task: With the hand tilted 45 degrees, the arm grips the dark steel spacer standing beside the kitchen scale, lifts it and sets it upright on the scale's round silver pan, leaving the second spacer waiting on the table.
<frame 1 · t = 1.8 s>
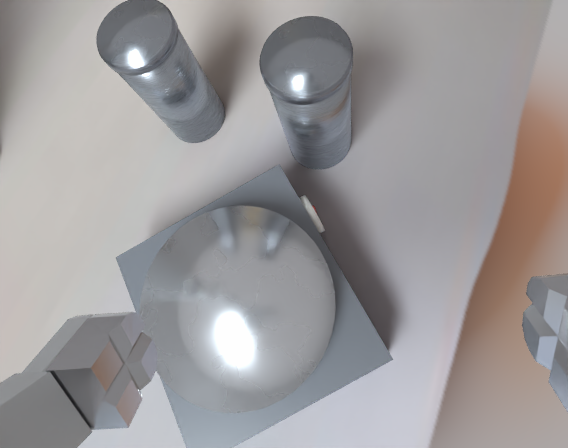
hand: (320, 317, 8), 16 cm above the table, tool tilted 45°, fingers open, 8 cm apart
pan: (235, 302, 21), point 4 cm above the table, slide at 0.0 cm, touching scale
spacer a: (320, 140, 26), on the table
spacer b: (197, 117, 29), on the table
scale: (253, 305, 24), on the table
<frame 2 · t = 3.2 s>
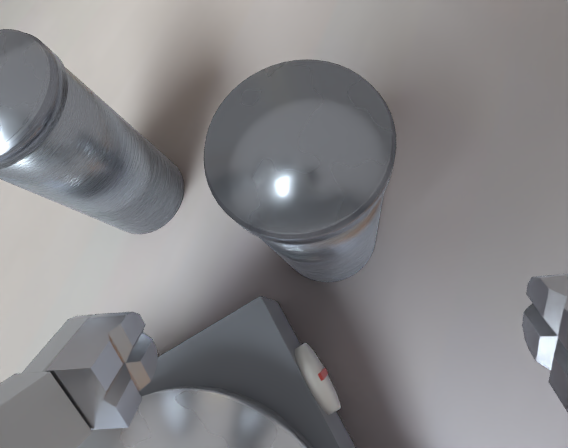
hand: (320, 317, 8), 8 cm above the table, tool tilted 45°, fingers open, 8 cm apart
spacer a: (326, 234, 17), on the table
spacer b: (145, 193, 20), on the table
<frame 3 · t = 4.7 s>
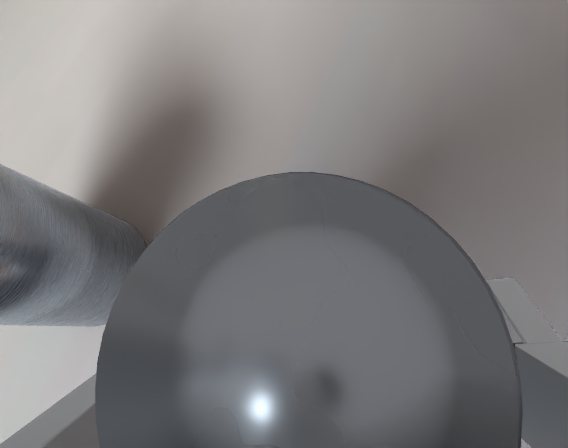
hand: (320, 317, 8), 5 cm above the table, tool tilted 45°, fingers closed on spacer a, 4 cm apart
spacer a: (338, 342, 12), on the table, touching gripper
spacer b: (99, 270, 15), on the table
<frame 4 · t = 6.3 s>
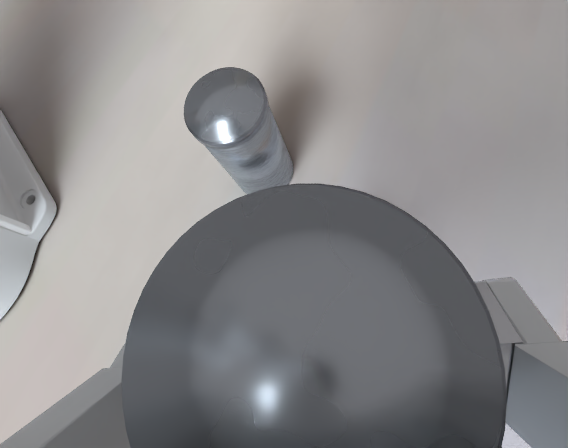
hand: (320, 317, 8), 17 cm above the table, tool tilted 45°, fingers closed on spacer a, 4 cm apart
spacer a: (339, 340, 13), point 12 cm above the table, touching gripper
spacer b: (264, 171, 28), on the table
when the fingers open (10 cm above the table, at t = 8.0 s): spacer a stays where it is, resting on pan.
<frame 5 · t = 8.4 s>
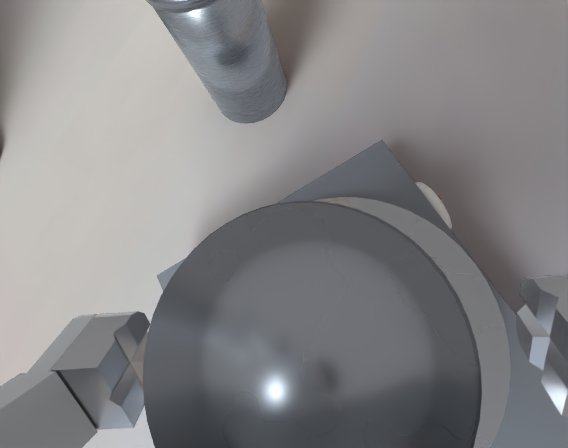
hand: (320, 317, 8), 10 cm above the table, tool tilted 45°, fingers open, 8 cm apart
pan: (341, 340, 14), point 4 cm above the table, slide at 0.0 cm, touching scale, spacer a
spacer a: (338, 341, 13), point 4 cm above the table, touching pan
spacer b: (251, 91, 22), on the table
scale: (346, 338, 17), on the table
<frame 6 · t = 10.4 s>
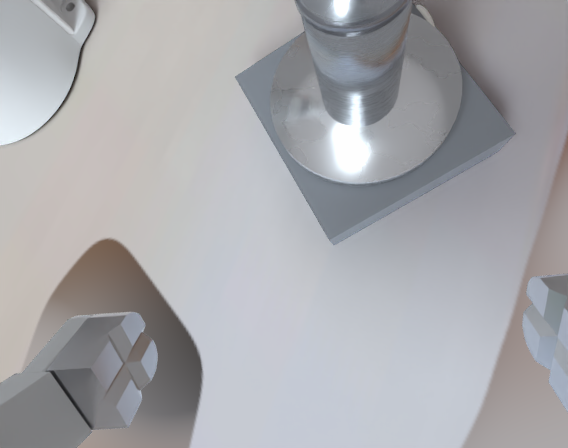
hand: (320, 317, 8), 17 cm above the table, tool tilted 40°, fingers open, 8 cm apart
pan: (361, 95, 22), point 4 cm above the table, slide at 0.0 cm, touching scale, spacer a
spacer a: (359, 91, 22), point 4 cm above the table, touching pan
scale: (362, 122, 26), on the table
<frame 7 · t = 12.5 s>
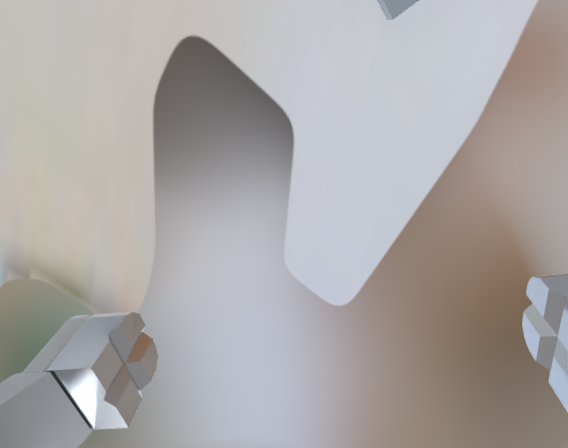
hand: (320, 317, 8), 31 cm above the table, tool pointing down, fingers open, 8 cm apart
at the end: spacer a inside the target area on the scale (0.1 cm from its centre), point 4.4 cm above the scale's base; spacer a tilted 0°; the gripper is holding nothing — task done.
